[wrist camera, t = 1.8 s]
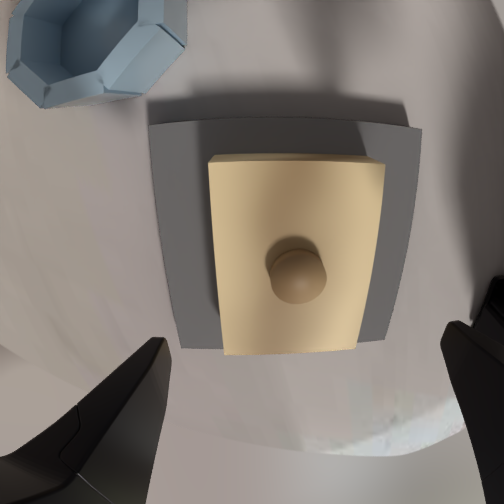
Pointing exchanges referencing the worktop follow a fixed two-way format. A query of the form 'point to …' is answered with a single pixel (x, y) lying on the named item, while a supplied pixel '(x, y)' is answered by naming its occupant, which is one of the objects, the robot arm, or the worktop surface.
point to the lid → (293, 248)
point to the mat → (271, 141)
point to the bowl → (92, 48)
